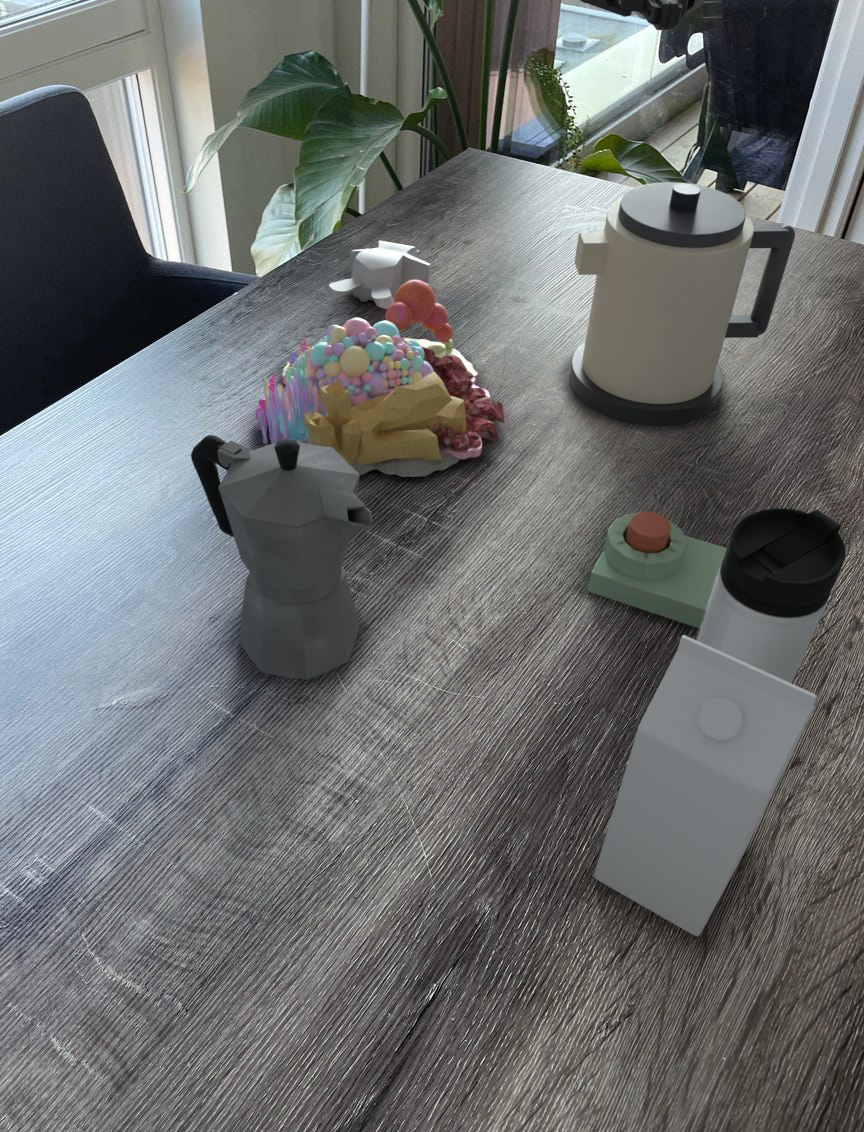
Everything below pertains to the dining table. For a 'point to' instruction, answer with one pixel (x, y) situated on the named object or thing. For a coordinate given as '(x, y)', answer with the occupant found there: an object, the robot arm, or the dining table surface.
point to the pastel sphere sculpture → (384, 393)
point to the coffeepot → (289, 548)
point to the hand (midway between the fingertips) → (668, 18)
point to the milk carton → (699, 781)
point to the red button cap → (648, 532)
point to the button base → (658, 574)
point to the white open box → (381, 273)
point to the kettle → (669, 300)
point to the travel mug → (773, 588)
